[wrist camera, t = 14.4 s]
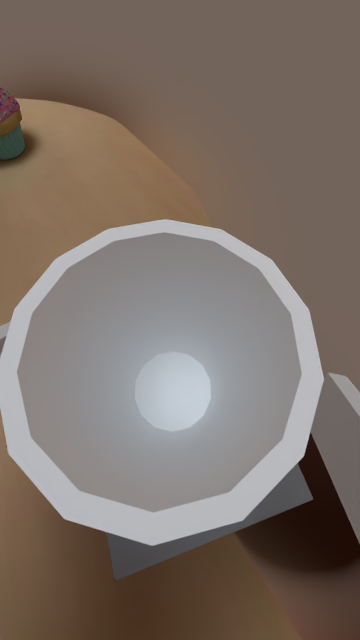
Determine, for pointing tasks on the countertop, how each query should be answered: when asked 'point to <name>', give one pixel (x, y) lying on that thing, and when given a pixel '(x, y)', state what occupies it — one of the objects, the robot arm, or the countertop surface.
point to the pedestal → (141, 556)
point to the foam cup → (159, 381)
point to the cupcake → (10, 127)
